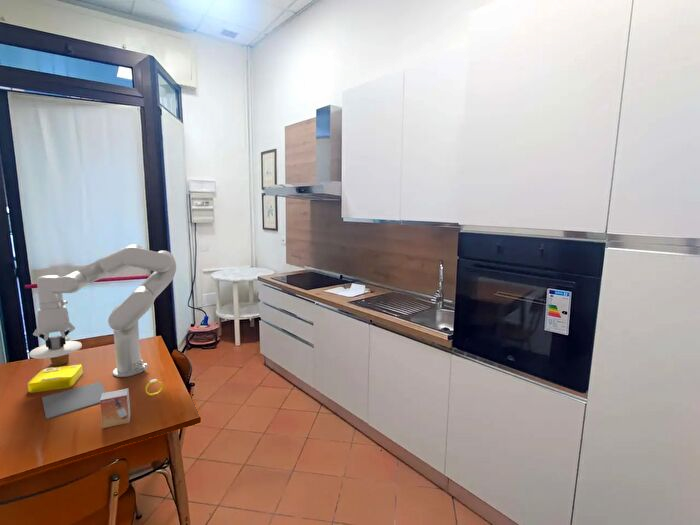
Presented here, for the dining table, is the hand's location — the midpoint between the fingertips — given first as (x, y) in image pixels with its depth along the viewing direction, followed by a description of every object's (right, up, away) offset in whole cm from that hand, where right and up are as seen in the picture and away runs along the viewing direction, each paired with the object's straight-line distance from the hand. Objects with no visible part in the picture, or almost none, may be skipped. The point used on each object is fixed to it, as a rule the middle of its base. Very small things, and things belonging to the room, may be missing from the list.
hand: (56, 346), depth 149 cm
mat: (+17, -18, -11) cm, 27 cm away
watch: (+45, -18, -6) cm, 49 cm away
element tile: (-1, -16, +2) cm, 16 cm away
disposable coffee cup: (-15, -13, +21) cm, 29 cm away
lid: (0, -1, 0) cm, 1 cm away
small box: (+42, -20, -25) cm, 53 cm away
